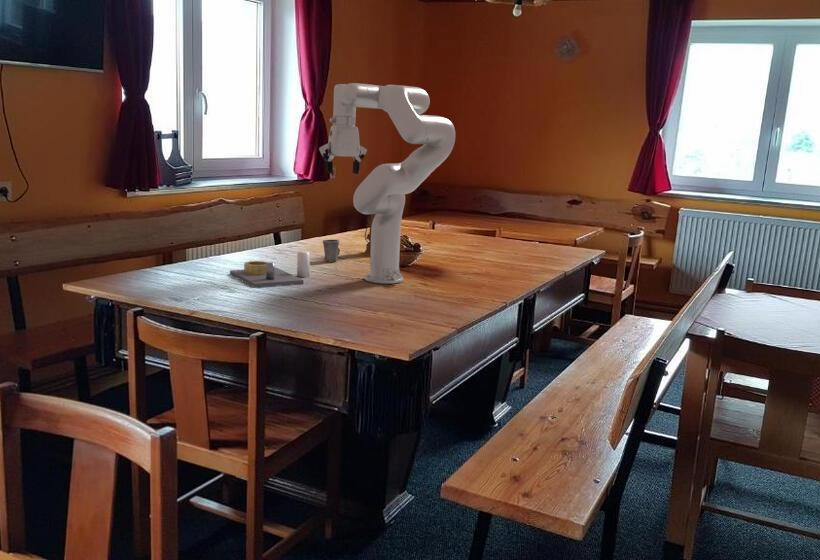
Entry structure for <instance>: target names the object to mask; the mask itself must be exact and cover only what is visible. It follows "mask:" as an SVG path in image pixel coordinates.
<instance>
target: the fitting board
mask: <svg viewBox="0 0 820 560" xmlns="http://www.w3.org/2000/svg"><path fill="white" fill-rule="evenodd" d="M229 275H231V276H233V277H235V278H236V277H237V279H238V278H239V279H238V280H240V279H241V280H240V281H242V280H243V281H242V282H244V283H245V282H246V284H247V283H248V284H247V285H249V284H250V285H249V286H251V285H252V286H251V287H253V286H254V287H257V288H264V287H263V286H269V287H277V286H276V285H282V286H290V284H295V285H303V284H304V279H303V278H301V277H298V276H295V275H293V274H291V273H289V272H287V271H285V270H282V269H280V268H278V267H276V266H275V277H274V280H267V279H266V274H265V275H250V274H246V273H244V269H233V270H229ZM261 286H262V287H261ZM254 287H253V288H254Z"/></svg>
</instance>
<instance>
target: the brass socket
mask: <svg viewBox="0 0 820 560" xmlns="http://www.w3.org/2000/svg"><path fill="white" fill-rule="evenodd" d="M266 263H269V261H264V260H251V261H246V262H244V263H243V267H244V268H243V270H244V273H246V274H250V275H265V274H266Z"/></svg>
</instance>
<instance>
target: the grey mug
mask: <svg viewBox="0 0 820 560" xmlns="http://www.w3.org/2000/svg"><path fill="white" fill-rule="evenodd" d="M322 244H323V251H324V259H325V262H327V263H336V262H337V261H338V258H339V255H340V251H341V250H340V248H339V247H340V245H339V244H340V240H339V239H323V240H322Z"/></svg>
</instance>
